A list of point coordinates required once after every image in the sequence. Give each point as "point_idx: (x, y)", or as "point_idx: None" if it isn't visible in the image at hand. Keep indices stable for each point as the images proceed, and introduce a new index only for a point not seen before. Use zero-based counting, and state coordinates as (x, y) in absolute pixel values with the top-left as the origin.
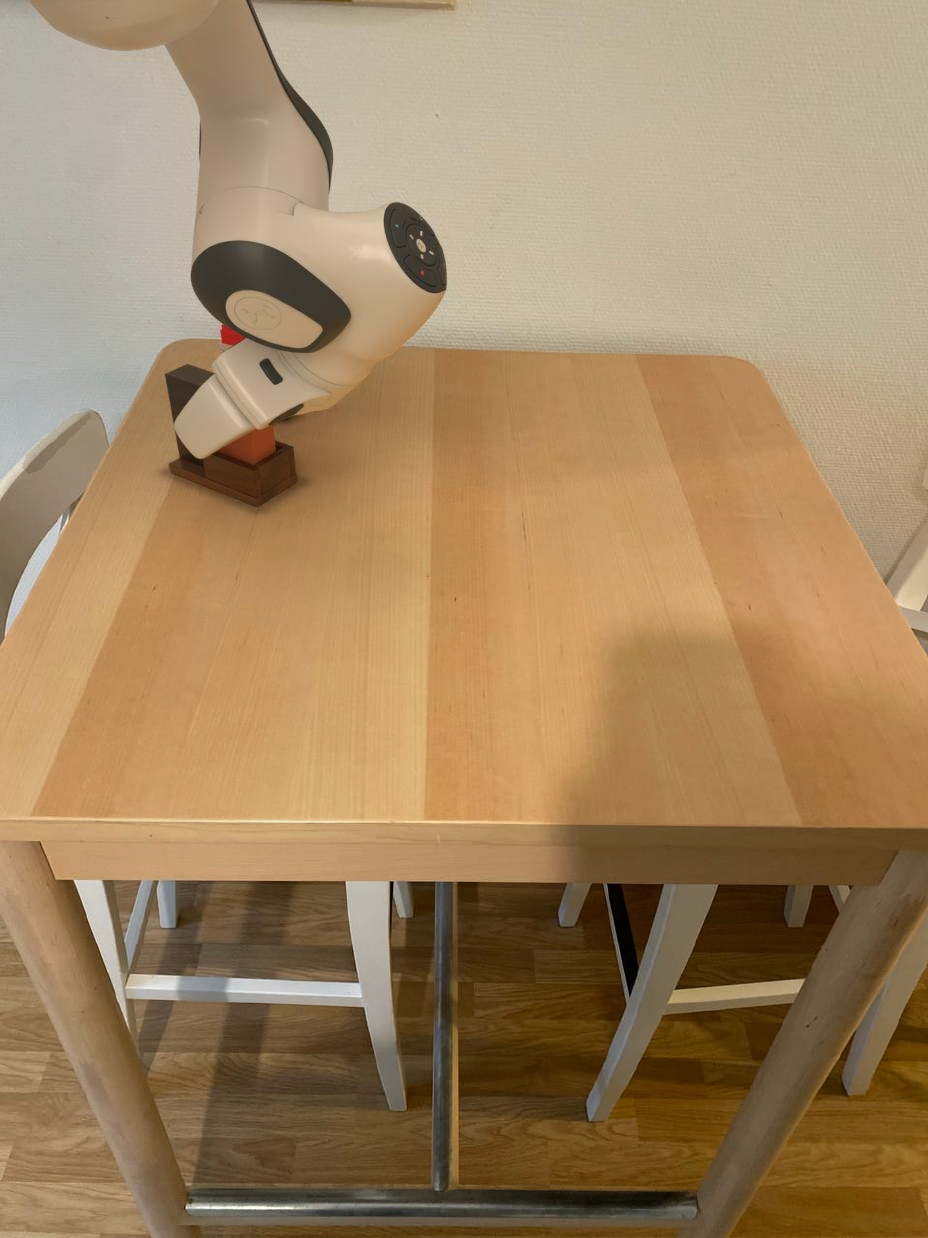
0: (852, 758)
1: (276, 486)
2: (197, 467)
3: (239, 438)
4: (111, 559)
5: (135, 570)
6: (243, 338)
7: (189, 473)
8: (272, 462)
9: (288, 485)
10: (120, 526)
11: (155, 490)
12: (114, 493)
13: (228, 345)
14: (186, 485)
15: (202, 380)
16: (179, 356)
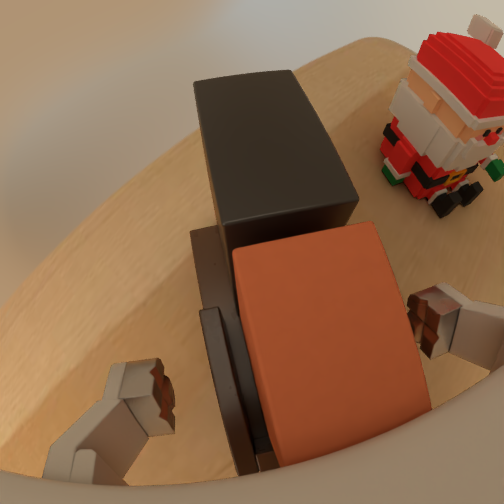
0: None
1: None
2: (220, 277)
3: (262, 404)
4: (9, 385)
5: (17, 430)
6: (458, 77)
7: (198, 282)
8: None
9: None
10: (48, 327)
11: (139, 274)
12: (96, 239)
13: (425, 69)
14: (186, 295)
15: (259, 173)
16: (366, 45)
